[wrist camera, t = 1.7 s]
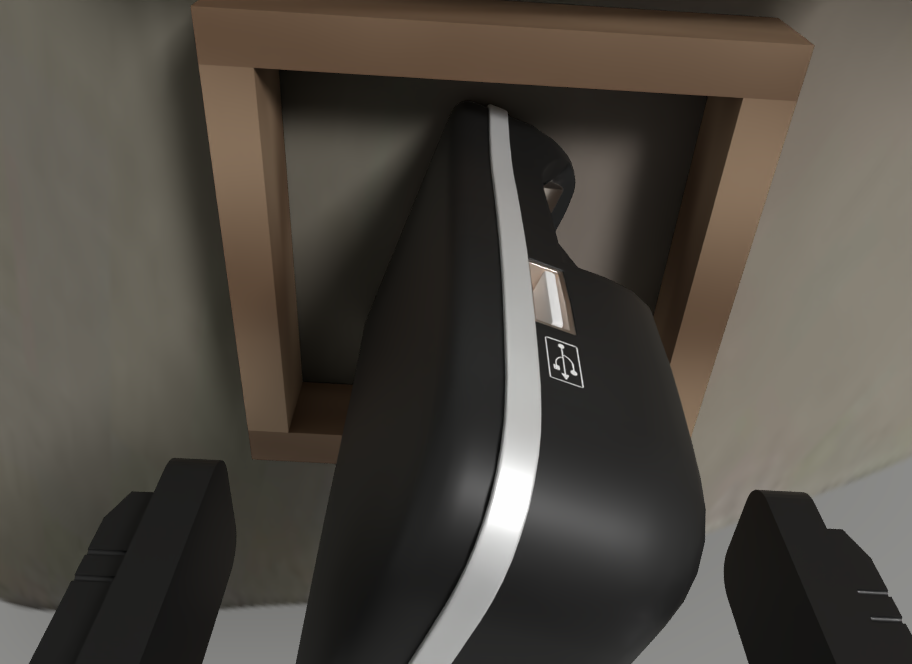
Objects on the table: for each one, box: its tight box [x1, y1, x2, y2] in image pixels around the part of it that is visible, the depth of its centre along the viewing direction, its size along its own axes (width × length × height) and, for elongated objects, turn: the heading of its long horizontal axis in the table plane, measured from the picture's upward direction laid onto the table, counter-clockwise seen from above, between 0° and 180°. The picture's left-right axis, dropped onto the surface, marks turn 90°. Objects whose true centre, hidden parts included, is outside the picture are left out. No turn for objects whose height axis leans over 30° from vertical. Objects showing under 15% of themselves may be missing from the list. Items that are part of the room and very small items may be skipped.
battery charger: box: [296, 101, 706, 664], centre depth 14 cm, size 7×4×11 cm, turn 158°
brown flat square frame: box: [191, 0, 815, 464], centre depth 17 cm, size 11×11×2 cm
